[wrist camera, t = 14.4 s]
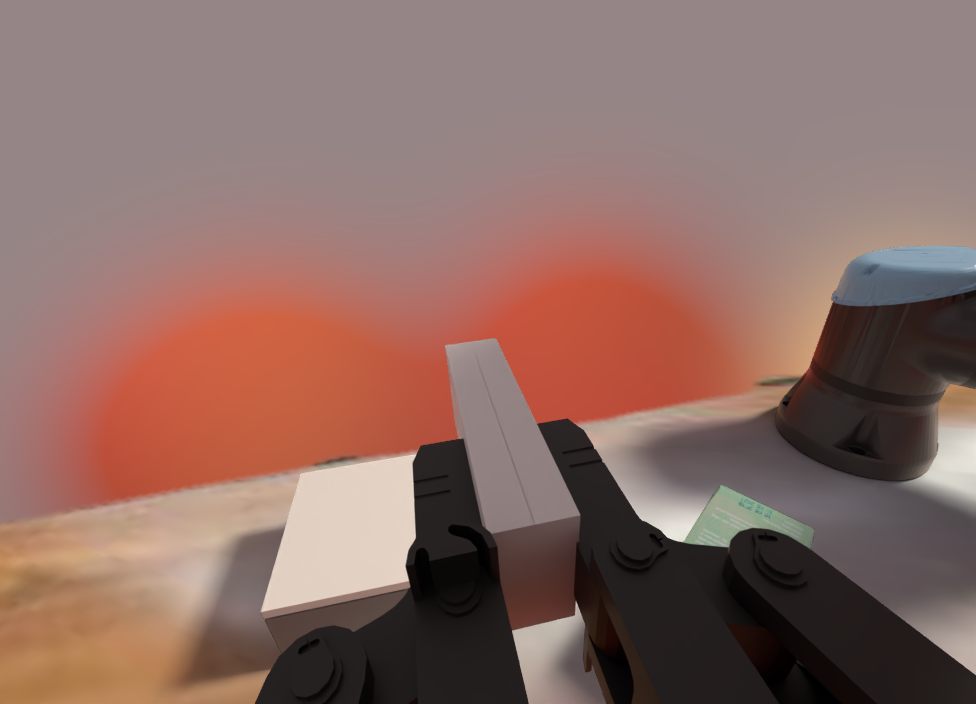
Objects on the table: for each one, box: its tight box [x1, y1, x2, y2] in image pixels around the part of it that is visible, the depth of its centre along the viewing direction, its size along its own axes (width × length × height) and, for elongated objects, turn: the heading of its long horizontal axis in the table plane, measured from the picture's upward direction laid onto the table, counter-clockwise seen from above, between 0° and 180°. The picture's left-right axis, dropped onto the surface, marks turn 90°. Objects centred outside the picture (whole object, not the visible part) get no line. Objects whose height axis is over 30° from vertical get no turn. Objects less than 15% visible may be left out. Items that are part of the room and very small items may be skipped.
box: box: [683, 485, 814, 549], centre depth 33 cm, size 7×14×8 cm, turn 136°
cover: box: [261, 454, 417, 619], centre depth 37 cm, size 24×14×1 cm, turn 101°
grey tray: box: [265, 588, 409, 653], centre depth 39 cm, size 24×14×6 cm, turn 101°
